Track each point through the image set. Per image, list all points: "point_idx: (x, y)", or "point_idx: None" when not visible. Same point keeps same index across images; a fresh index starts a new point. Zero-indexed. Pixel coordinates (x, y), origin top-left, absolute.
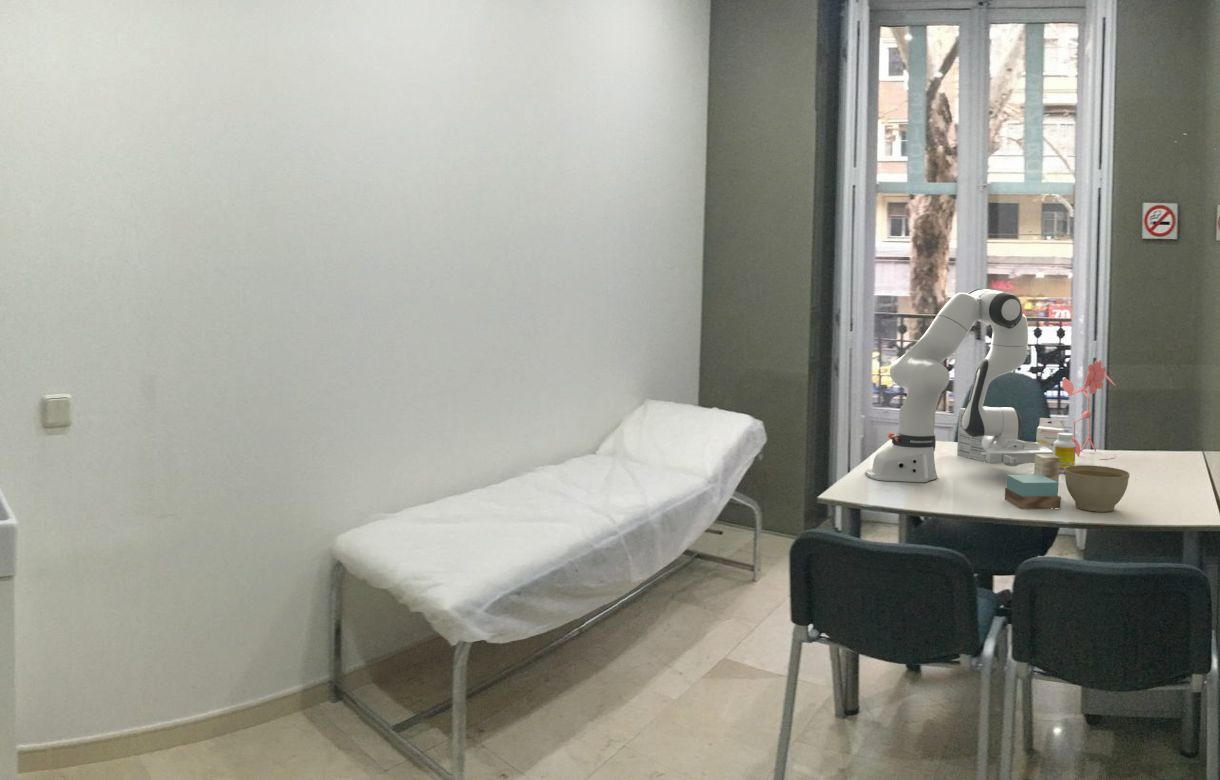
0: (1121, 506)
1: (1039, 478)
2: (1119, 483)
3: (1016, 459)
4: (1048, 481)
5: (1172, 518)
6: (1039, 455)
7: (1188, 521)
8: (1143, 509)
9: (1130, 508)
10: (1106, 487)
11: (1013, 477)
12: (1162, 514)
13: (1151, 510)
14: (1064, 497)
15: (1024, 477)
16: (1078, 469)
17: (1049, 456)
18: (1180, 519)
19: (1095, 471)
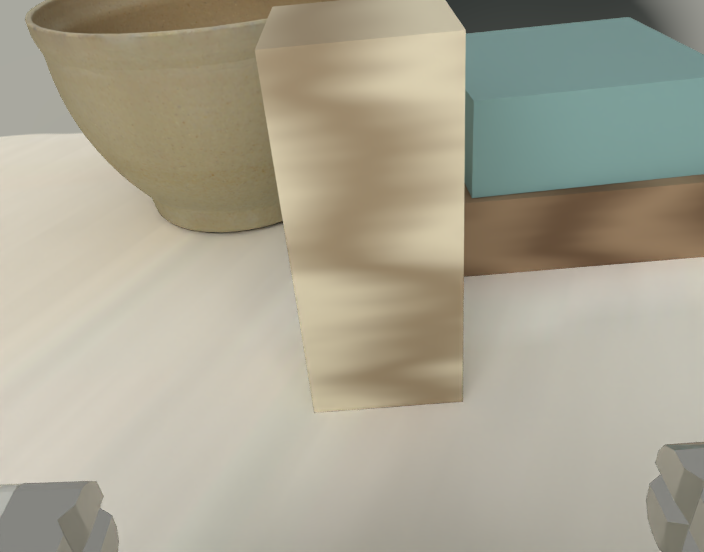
0: (78, 227)
1: (515, 58)
2: (191, 4)
3: (663, 450)
4: (480, 39)
5: (41, 148)
6: (436, 15)
7: (24, 135)
8: (23, 206)
9: (68, 210)
10: (256, 16)
11: (687, 50)
12: (22, 172)
13: (3, 200)
14: (266, 327)
15: (611, 57)
16: (210, 56)
17: (347, 11)
18: (25, 144)
19: (104, 72)
